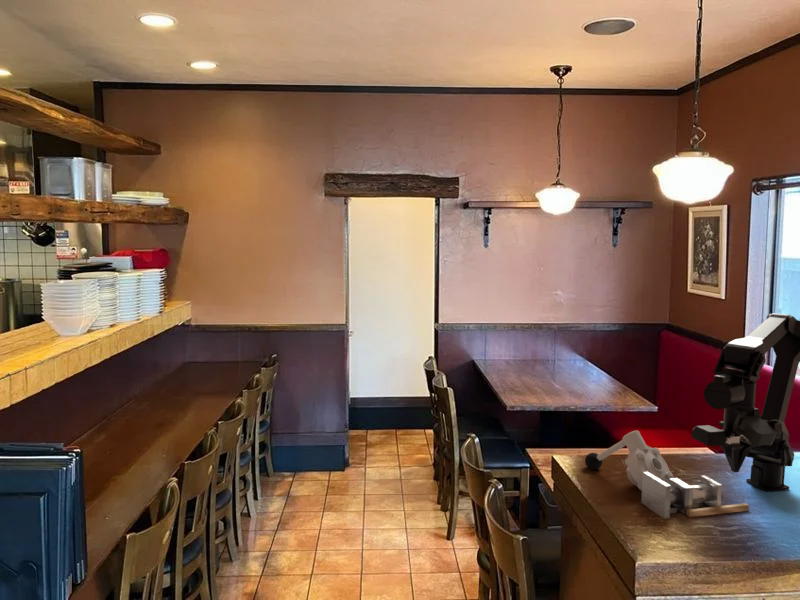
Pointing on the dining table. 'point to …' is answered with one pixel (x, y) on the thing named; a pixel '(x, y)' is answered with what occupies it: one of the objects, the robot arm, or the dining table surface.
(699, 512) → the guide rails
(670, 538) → the dining table surface
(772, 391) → the robot arm
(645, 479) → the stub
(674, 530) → the dining table surface
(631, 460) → the mechanical valve
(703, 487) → the grey slotted block
